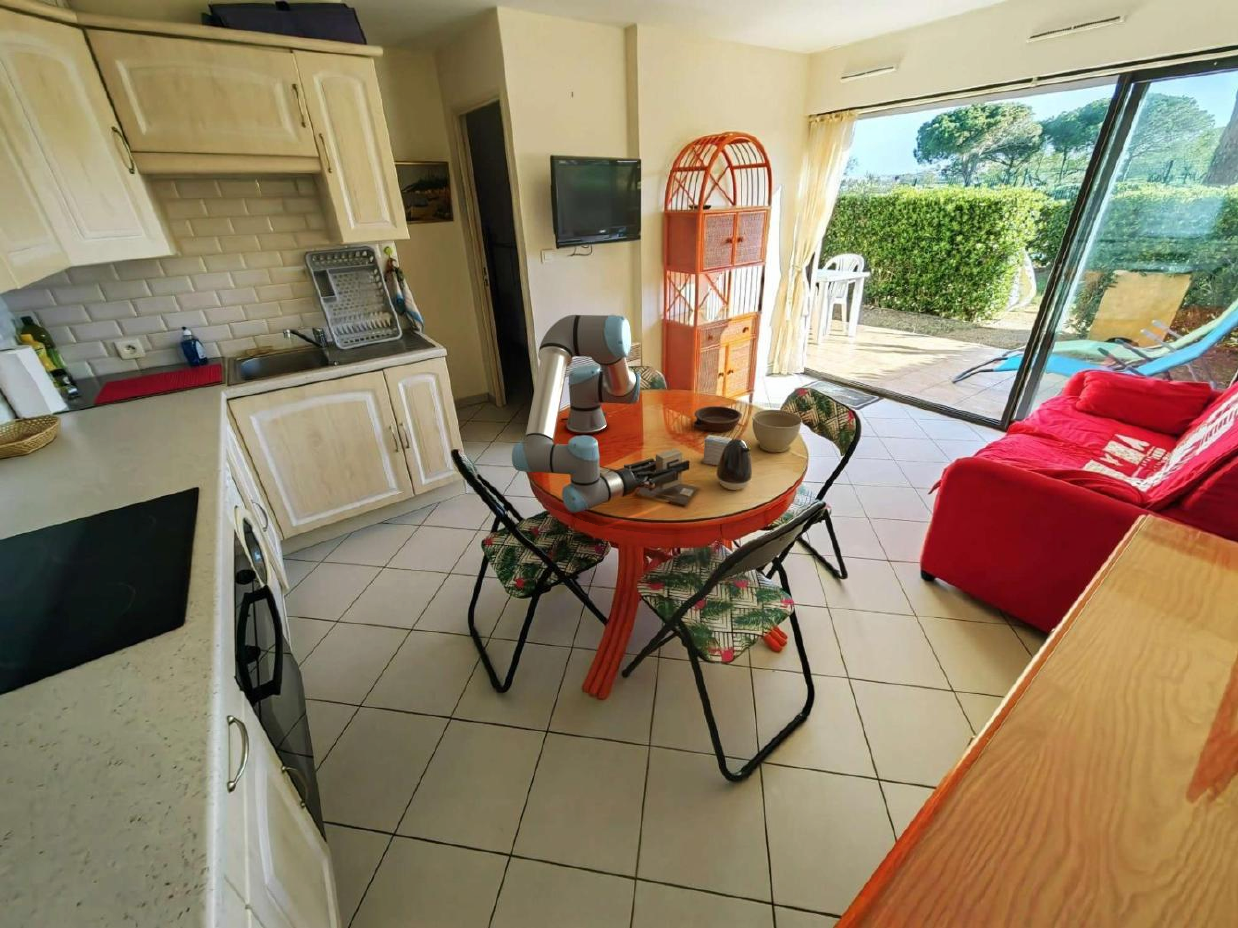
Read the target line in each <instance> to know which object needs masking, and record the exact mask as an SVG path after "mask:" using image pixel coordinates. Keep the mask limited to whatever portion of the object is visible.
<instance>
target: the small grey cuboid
mask: <svg viewBox="0 0 1238 928" xmlns="http://www.w3.org/2000/svg"><path fill="white" fill-rule="evenodd" d="M655 461H656V471H658V470H663V469H668V468H670V466H672V465H675V464H678V463H681V462H683V451H681V450H680V449H677V448H676V447H675V448H674V447H673V448H672V449H668V450H664V451H662V452H658V453H656V454H655ZM682 475H683V472H681V473H679V474H676V479H675V480H674V481H671V482H669V483H666V484H664V485H661V486H659V488H661V489H662V490H663V489H666V488H669V487H672V486H675V485H677V484H682V480H683V479H682V477H683V476H682Z"/></svg>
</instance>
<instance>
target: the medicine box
mask: <svg viewBox="0 0 1238 928" xmlns="http://www.w3.org/2000/svg"><path fill="white" fill-rule="evenodd" d="M732 439H733V438H732V437H726V436H720V435H714V434H713V435H712V434H708V435H707V436H706V437H705V439H704V445H703V446H704V447H703V460H702V461H703V464H707V465H712V466H718V463H719V460H720V457H721V454H722V452H723V450H724V448H725V446H726V445H727V444H728V442H729V441H731V440H732Z"/></svg>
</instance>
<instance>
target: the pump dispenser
mask: <svg viewBox="0 0 1238 928" xmlns="http://www.w3.org/2000/svg"><path fill="white" fill-rule="evenodd" d="M731 439H732V440H731V441H729V442H728V444H727V445H726V446H725V448H724V450H723V452H722V454H721V457H720V460H719V463H718V465H717V468H716V477H717V479H718V483H719V484H720V485H721V486H722V487H723V488H725V489H727V490H732V491H738V490H742V489H744V488H745V487H746V486H747V485H749V483H750V481H751V480H752V477H753V466H752V459H751V453H750V451H751V448H750V447H748V446H747V444H746V442H745V441H744V440H743V439H741V438H731Z"/></svg>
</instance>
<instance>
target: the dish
mask: <svg viewBox="0 0 1238 928" xmlns="http://www.w3.org/2000/svg"><path fill="white" fill-rule="evenodd" d="M694 417H695V419H696V420H695V421H693V423H692V428H693V429H694V430H705V431H709V432H715V433H716V432H718V433H719V432H721V433H722V432H728V431H731V430H734V429H736V428H737V426H738V424H739V422H740V420H741V418H742V417H743V414H742V412H740V411H739V410H737V409H734V408H731V407H727V406H721V405H720V406H718V405H717V406H716V405H711V406H705V407H701V408H698V409H696V410H695V411H694Z"/></svg>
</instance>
